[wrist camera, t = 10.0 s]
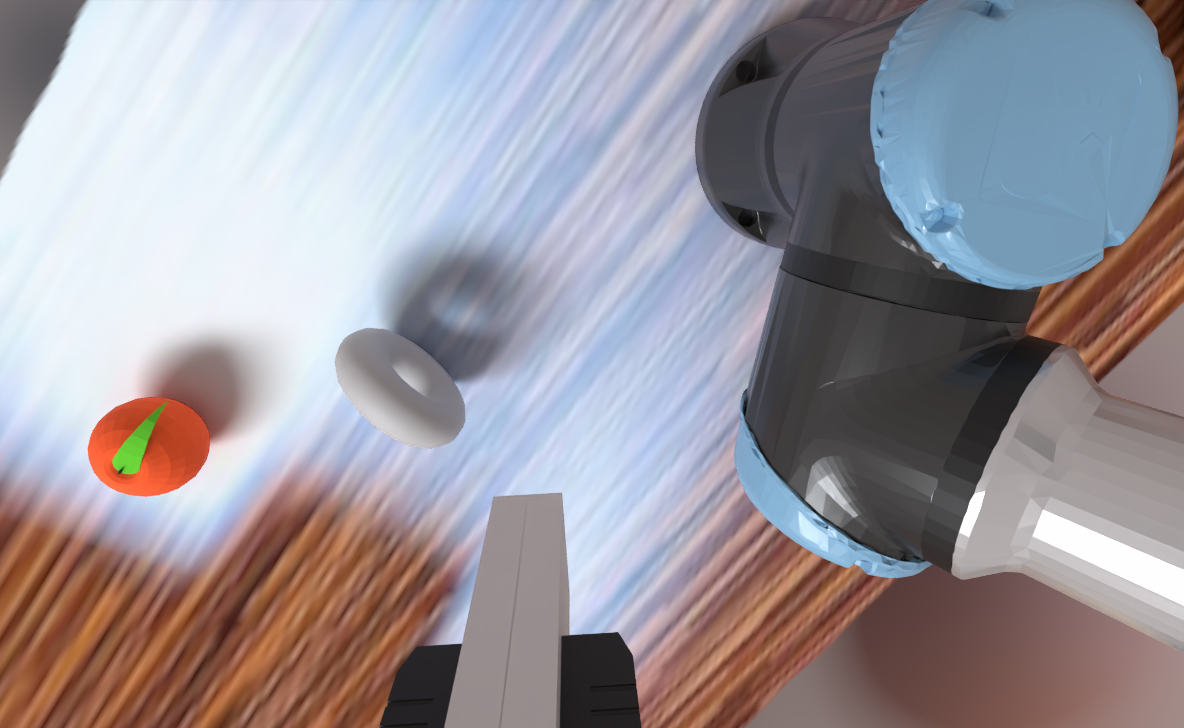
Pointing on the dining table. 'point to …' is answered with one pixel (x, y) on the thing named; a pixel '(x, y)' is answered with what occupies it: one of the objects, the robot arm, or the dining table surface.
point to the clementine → (148, 446)
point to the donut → (400, 388)
